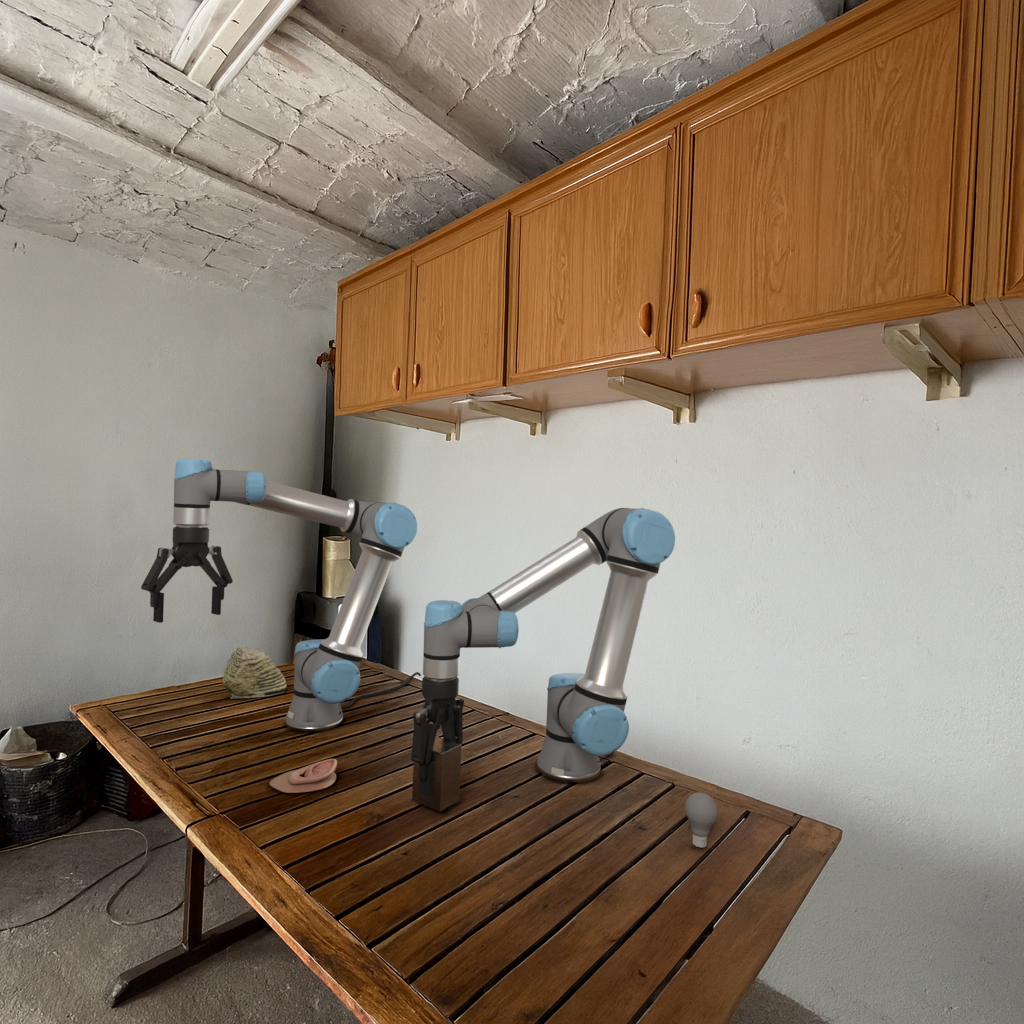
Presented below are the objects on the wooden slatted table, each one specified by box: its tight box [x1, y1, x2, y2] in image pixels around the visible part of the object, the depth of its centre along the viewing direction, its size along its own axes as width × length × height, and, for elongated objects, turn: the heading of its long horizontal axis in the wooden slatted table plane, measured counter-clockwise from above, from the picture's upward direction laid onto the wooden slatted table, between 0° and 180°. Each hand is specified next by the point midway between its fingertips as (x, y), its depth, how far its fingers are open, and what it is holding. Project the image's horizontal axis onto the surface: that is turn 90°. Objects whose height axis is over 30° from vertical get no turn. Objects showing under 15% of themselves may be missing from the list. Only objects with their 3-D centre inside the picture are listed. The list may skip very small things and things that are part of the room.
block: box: [411, 736, 462, 813], centre depth 131 cm, size 6×8×12 cm
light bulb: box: [684, 792, 719, 849], centre depth 120 cm, size 6×6×10 cm
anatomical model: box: [269, 758, 338, 794], centre depth 140 cm, size 13×4×12 cm
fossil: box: [222, 646, 288, 699], centre depth 198 cm, size 9×18×15 cm, turn 132°
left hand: (188, 617), depth 146 cm, fingers open, 13 cm apart
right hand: (436, 787), depth 131 cm, fingers closed on block, 6 cm apart
